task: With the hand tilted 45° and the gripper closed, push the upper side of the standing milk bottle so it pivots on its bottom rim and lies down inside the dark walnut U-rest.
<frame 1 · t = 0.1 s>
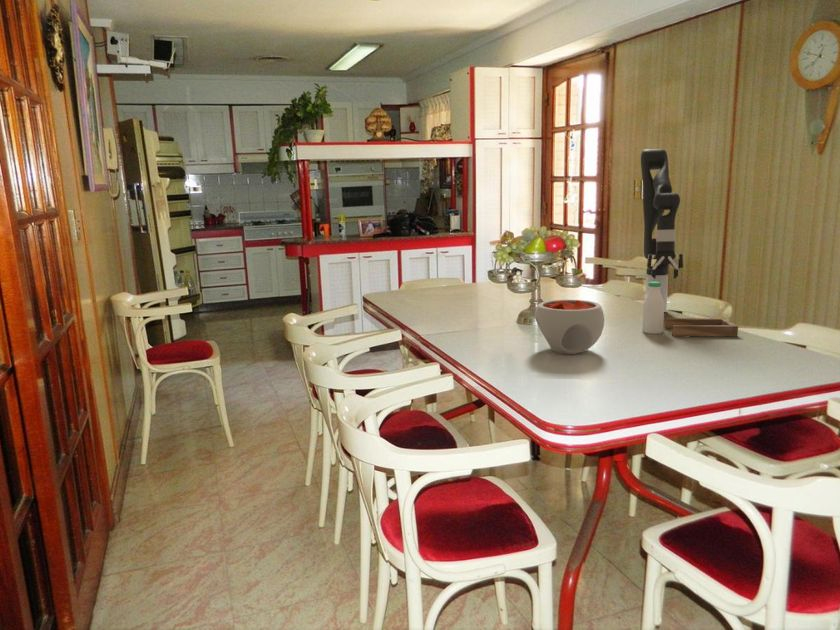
hand: (664, 278, 271), 17 cm above the table, tool pointing down, fingers open, 8 cm apart
milk bottle: (652, 332, 248), on the table
pot: (568, 351, 224), on the table
walnut U-rest: (696, 332, 245), on the table
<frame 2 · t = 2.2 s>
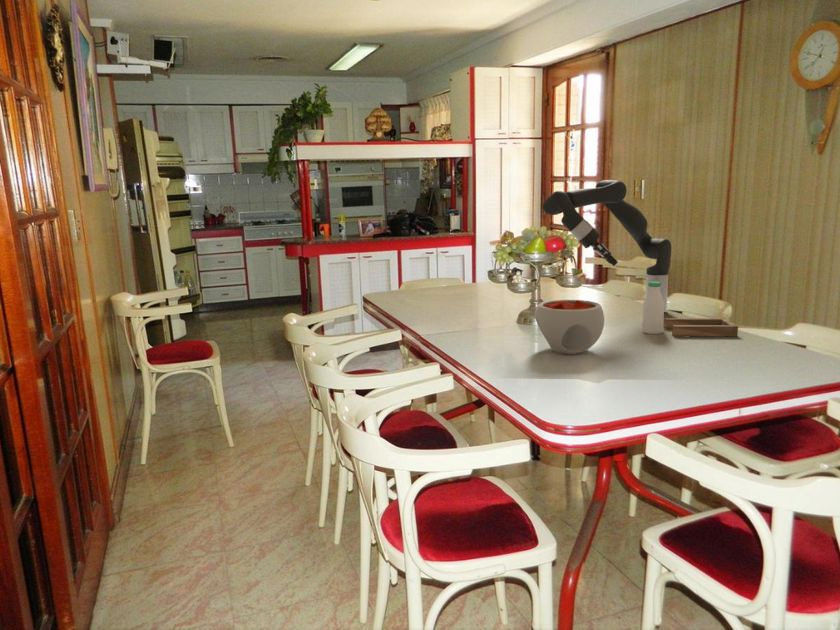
hand: (613, 263, 244), 28 cm above the table, tool tilted 45°, fingers open, 8 cm apart
nothing on the table moved.
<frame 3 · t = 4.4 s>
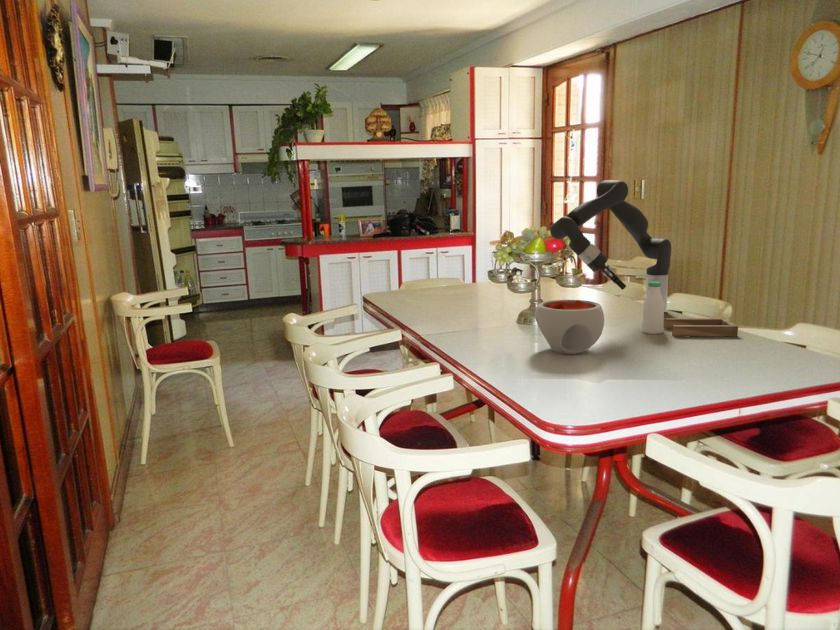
hand: (624, 287, 246), 18 cm above the table, tool tilted 45°, fingers closed
nothing on the table moved.
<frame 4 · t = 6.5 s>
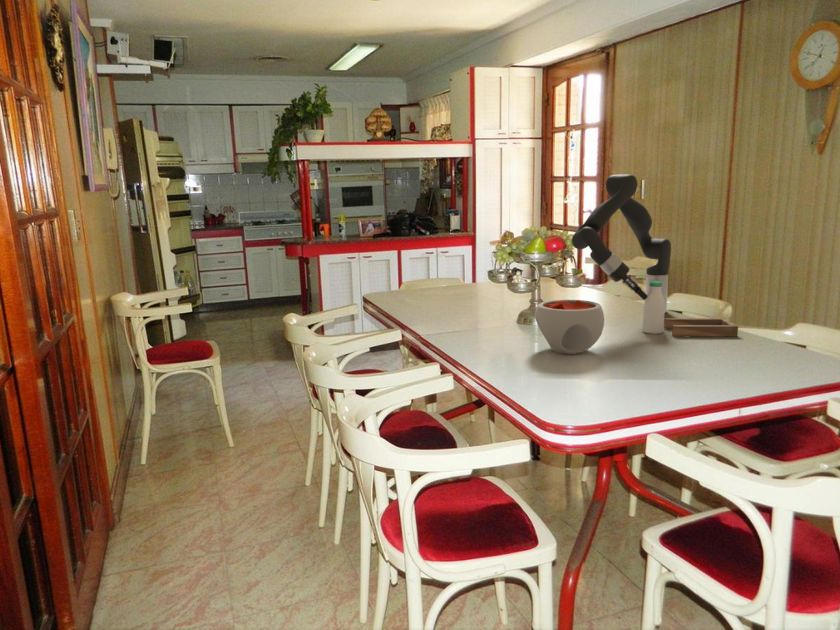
hand: (645, 297, 246), 14 cm above the table, tool tilted 45°, fingers closed
milk bottle: (652, 332, 248), on the table, touching gripper
everything else where it was.
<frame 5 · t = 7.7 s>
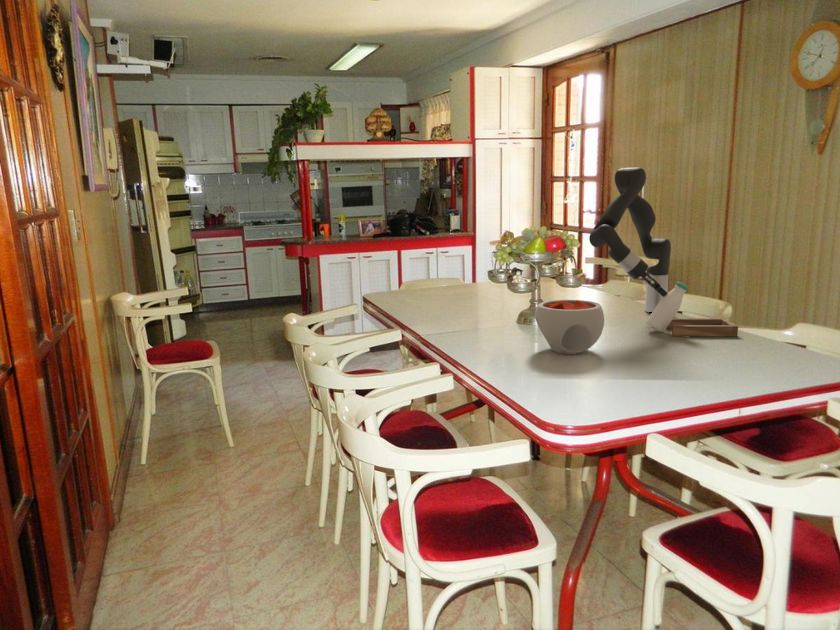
hand: (665, 294, 244), 15 cm above the table, tool tilted 45°, fingers closed
milk bottle: (653, 328, 247), point 2 cm above the table, touching gripper
everything else where it was.
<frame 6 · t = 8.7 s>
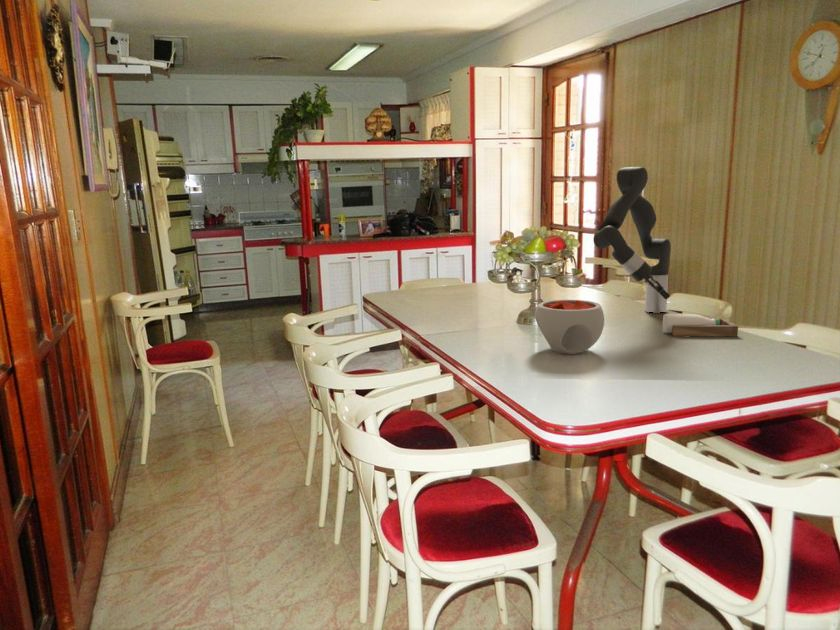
hand: (667, 297, 244), 14 cm above the table, tool tilted 45°, fingers closed
milk bottle: (663, 323, 245), point 4 cm above the table, touching walnut U-rest
everything else where it was.
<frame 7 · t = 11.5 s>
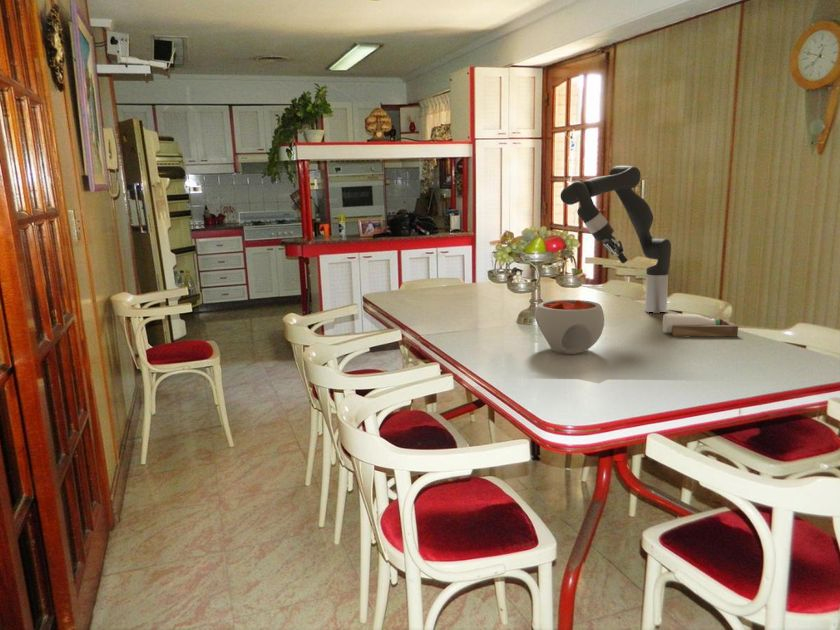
hand: (624, 262, 246), 28 cm above the table, tool tilted 35°, fingers closed
nothing on the table moved.
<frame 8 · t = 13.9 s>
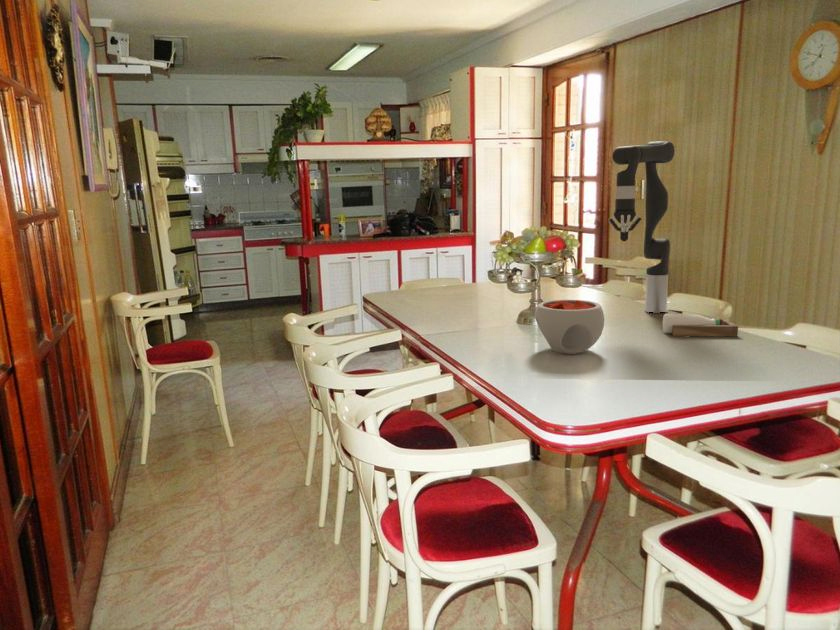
hand: (623, 241, 254), 35 cm above the table, tool pointing down, fingers closed
nothing on the table moved.
at the end: milk bottle tilted 91°; milk bottle inside the target area (3.7 cm from its centre), point 3.9 cm above the table; the gripper is holding nothing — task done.
